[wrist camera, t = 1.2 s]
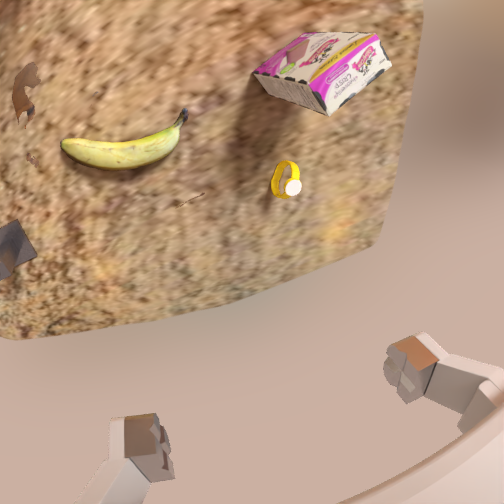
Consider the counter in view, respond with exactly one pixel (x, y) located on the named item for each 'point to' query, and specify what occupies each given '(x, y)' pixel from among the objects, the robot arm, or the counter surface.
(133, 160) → the banana
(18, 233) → the post
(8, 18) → the counter surface
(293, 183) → the watch
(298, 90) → the candy bar box
